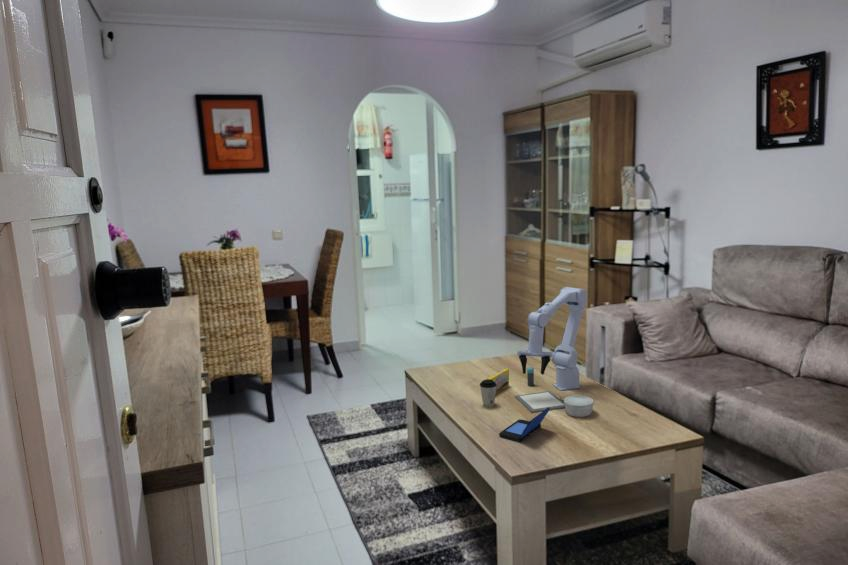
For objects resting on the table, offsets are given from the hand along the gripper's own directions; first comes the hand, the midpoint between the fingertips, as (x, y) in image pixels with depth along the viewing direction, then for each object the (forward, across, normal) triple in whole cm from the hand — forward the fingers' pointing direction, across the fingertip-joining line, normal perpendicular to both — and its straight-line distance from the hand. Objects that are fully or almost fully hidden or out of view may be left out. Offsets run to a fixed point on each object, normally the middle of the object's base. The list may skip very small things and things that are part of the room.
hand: (533, 373), depth 238 cm
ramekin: (+11, +15, -16) cm, 25 cm away
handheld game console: (+16, -10, -30) cm, 35 cm away
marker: (+9, +5, +18) cm, 21 cm away
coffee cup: (+14, -18, 0) cm, 23 cm away
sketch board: (+11, +4, -2) cm, 12 cm away
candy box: (+12, -11, +14) cm, 21 cm away
